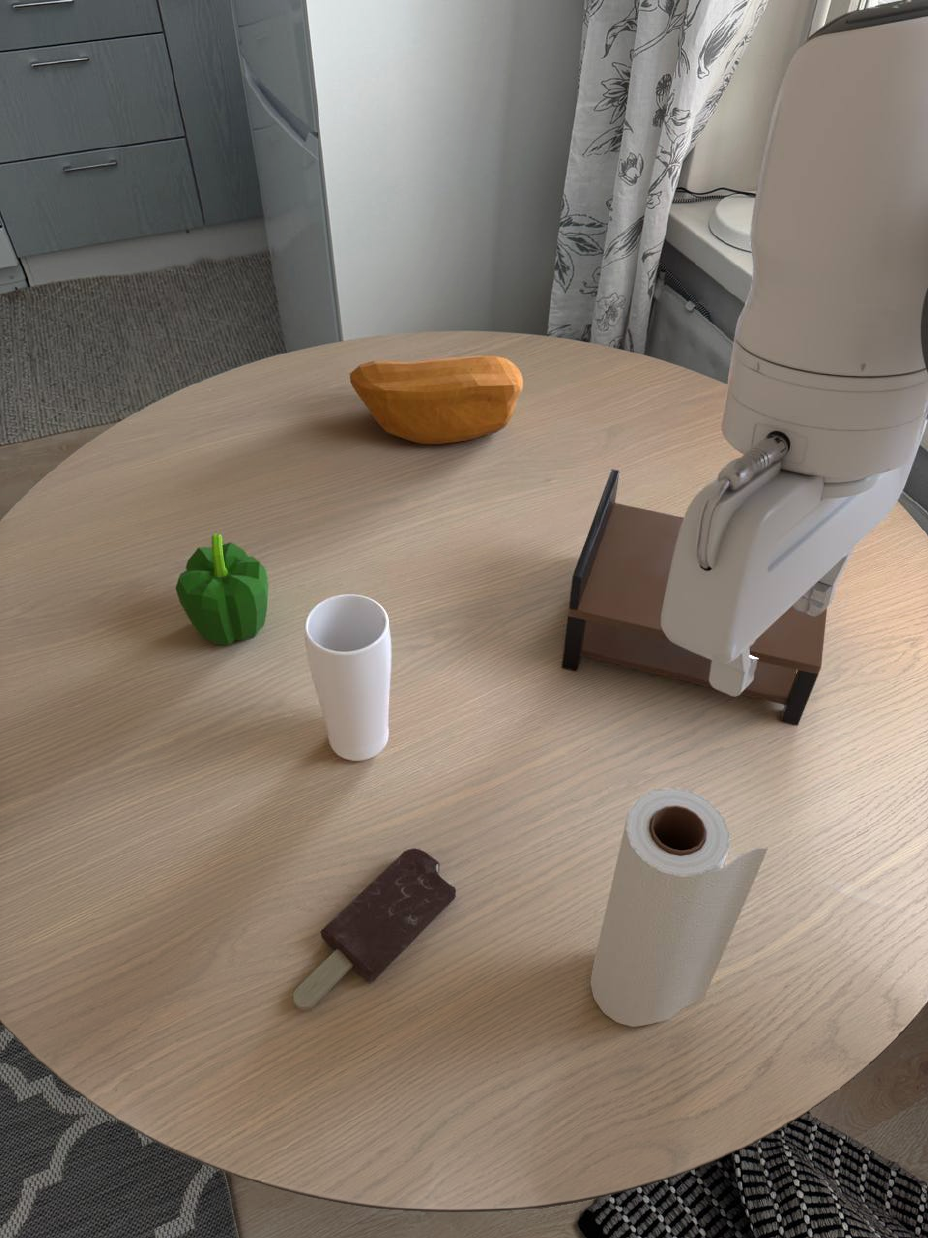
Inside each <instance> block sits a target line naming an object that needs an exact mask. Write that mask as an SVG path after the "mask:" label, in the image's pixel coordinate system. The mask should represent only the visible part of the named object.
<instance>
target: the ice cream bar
mask: <svg viewBox="0 0 928 1238" xmlns="http://www.w3.org/2000/svg"><path fill="white" fill-rule="evenodd" d="M439 873H440V862H439V861H438V860H437V859H435V858H434V857H433V856H432V855H430V854H429V853H427V852H426V851H424V850H422V849H420V848H416V847H415V848H410V849H409V848H408V849H406V850H404V851H403V852H402V853H401V854H400V855H399V856H398V857H397V858H396V859H395V860H394V861H392V863H390V864H389V865H388V866H387V867H386V868H385V869H384V870H383V871H382V872H381V873H380V874H378V876H377V877H376V878H375V879H373V881H372V882H370V884H368V885H367V886H366V887H365V888H364V889H363V890H362V891H361V892H360V893H359V894H358V895H357V896H356V897H355V898H354V899H353V900H351V901H350V902H349V903H348V904H347V905H346V906H345V907H344V908H343V909H342V910H341V911H340V912H339V913H338V914H337V915H335V916H334V918H332V919H331V920H330V921H329V922H328V923H327V924H326V925H325V926H324V927H323V928H322V929H321V930H320V936H321V939H322V940H323V941H324V942H325V943H326V945H328V946H329V947H330V948H331V949H332V950H333V952H332V953H331V954H330V955H329V956H328V957H327V958H326V959H325V960H324V961H323V962H322V963H321V964H320V965H319V966H318V967H317V968H316V969H315V970H314V971H313V972H311V974H309V976H308V977H307V978H305V980H304V981H303V982H301V983H300V984H299V985H298V987H296V988H295V990H294V992H293V994H292V995H293V996H292V999H293V1002H294V1005H295V1007H296V1008H298V1009H299V1010H301V1011H307V1010H310V1009H312V1008H313V1007H315V1005H316V1004H317V1003H318V1002H319V1001H321V1000H322V999H323V997H324V996H325V995H327V993H328V992H330V991H331V989H332V988H333V987H335V986H336V985H337V983H339V982H340V981H341V980H342V979H343V978H344V976H346V975H347V973H349V972H350V970H351V969H353V970H354V971H355V972H356V973H357V974H358V975H359V976H360V977H362V978H363V979H365V980H366V981H367V982H369V983H370V984H372V983H374V981H376V980H377V979H378V977H379V976H380V975H381V974H382V973H383V972H384V971H385V970H386V969H387V968H388V967H389V966H391V964H392V963H393V962H394V961H395V960H396V959H397V958H398V957H399V956H400V955H401V954H402V953H403V952H404V951H405V950H406V949H407V948H408V946H410V945H411V944H412V942H413V941H415V940H416V939H417V938H418V937H419V935H421V933H422V932H423V931H424V930H425V929H426V928H427V927H428V926H429V925H430V924H431V923H432V922H433V921H434V920H435V919H436V918H437V917H438V916H439V915H440V914H441V913H442V912H443V911H444V910H445V909H446V908H447V907H448V906H449V905H450V904H451V903H452V902H453V901H454V899H456V898H457V889H456V886H453V885H451V884H450V883H448V882H447V881H446V880H445V879H444V878H442V876H440V875H439Z"/></svg>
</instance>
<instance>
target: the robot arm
mask: <svg viewBox="0 0 928 1238" xmlns="http://www.w3.org/2000/svg"><path fill="white" fill-rule="evenodd" d="M786 68H787V69H786V70H785V74H784V76H783V79H782V82H781V84H780V88H779V91H778V94H777V97H776V100H775V104H774V108H773V111H772V112H773V113H772V115H771V118H770V119H771V120H770V122H769V123H770V124H769V128H768V133H767V137H766V141H765V145H764V150H763V156H762V160H761V165H760V169H759V175H758V181H757V186H756V192H755V198H754V204H753V210H752V215H751V216H752V217H751V222H750V223H751V224H750V230H749V245H750V246H749V247H750V253H751V262H752V279H751V285H750V289H749V292H748V295H747V298H746V301H745V303H744V306H743V308H742V310H741V312H740V314H739V317H738V319H737V322H736V325H735V331H734V336H733V344H732V350H731V356H730V363H729V370H728V375H727V376H728V377H727V385H726V390H725V391H726V392H725V398H724V404H723V411H722V417H721V424H720V428H721V433H722V436H723V438H724V439H725V440H726V442H727V443H728V444H729V445H730V446H731V447H732V448H733V449H735V450H736V451H738V453H740V454H742V456H740V457H737V458H734V459H732V460H731V461H729V462H728V463H727V464H726V465H724V466H723V468H722V469H721V470H720V471H719V472H718V476H717V477H716V478H715V479H713V480H712V481H711V482H709V483H708V484H706V485H705V486H704V487H702V488H701V489H700V490H699V491H698V493H697V494H695V496H694V497H693V498H692V500H691V502H690V503H689V505H688V507H687V509H686V511H685V513H684V516H683V517H684V518H683V521H682V524H681V527H680V530H679V534H678V538H677V541H676V545H675V550H674V554H673V558H672V563H671V568H670V572H669V577H668V582H667V587H666V592H665V597H664V603H663V609H662V614H661V627H662V630H663V631H664V633H665V635H666V637H667V638H668V639H669V640H670V641H671V642H673V643H674V644H676V645H678V646H680V647H682V648H685V649H687V650H689V651H691V652H693V653H696V654H698V655H701V656H703V657H705V658H708V659H710V660H712V662H711V668H710V675H709V682H710V684H711V685H712V687H711V688H713V689H714V690H717V691H719V692H721V693H724V694H725V695H728V696H730V697H734V698H735V697H739V696H740V695H742V694H741V693H742V691H743V690H745V689H746V688H747V687H748V686H749V684H750V683H751V682H752V681H753V679H754V672H755V669H756V665H757V660H758V659H757V658H755V657H753V656H750V650H749V648H750V646H751V645H752V644H754V642H755V640H756V639H757V638H758V637H759V636H760V635H761V634H762V633H764V632H765V631H766V630H767V629H768V628H769V627H770V626H771V625H772V624H773V623H774V622H775V621H776V620H777V619H778V618H779V617H781V616H782V615H783V614H784V613H785V612H786V611H787V610H788V609H789V608H790V607H791V606H792V605H793V607H794V608H795V609H796V610H798V611H800V612H806V613H807V614H808V615H811V616H814V617H815V616H819V615H820V614H821V613H822V612H823V611H824V610H825V609H826V608H827V609H828V607H829V606H831V604H832V603H833V599H834V595H835V593H836V592H835V591H836V586H837V584H838V582H839V580H840V578H841V576H842V574H843V572H844V570H845V568H846V566H847V564H848V562H849V560H850V558H851V556H852V554H853V552H854V550H855V547H857V545H859V543H861V542H862V540H863V539H865V537H867V536H868V535H869V534H870V533H871V532H872V531H873V530H874V529H875V528H876V527H877V526H879V524H880V523H882V522H883V521H884V520H885V519H886V518H887V517H888V516H889V515H890V514H891V512H892V511H893V509H894V508H895V506H896V504H897V503H898V501H899V499H900V497H901V495H902V493H903V491H904V489H905V486H906V484H907V481H908V478H909V476H910V472H911V470H912V467H913V465H914V462H915V459H916V456H917V454H918V450H919V448H920V445H921V442H922V439H923V436H924V433H925V430H926V428H927V424H928V0H897V1H892V2H885V3H880V4H877V5H874V6H871V7H866V8H862V9H856V10H852V11H849V12H845V13H843V14H842V15H840V16H837V17H835V18H834V19H832V20H830V21H829V22H827V23H826V24H824V25H822V27H820V28H818V29H817V30H815V31H814V32H813V33H812V34H811V35H810V36H808V37H807V40H805V41H804V43H803V44H802V45H801V46H800V47H799V48H797V50H796V51H795V53H794V54H793V56H792V58H791V60H790V61H789V64H788V66H787V67H786Z"/></svg>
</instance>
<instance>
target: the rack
mask: <svg viewBox="0 0 928 1238" xmlns="http://www.w3.org/2000/svg"><path fill="white" fill-rule="evenodd" d="M619 479H620V470H618V469H613V468H612V469H611V470H610V472H609V475H608V478H607V481H606V484H605V487H604V489H603V492H602V495H601V498H600V499H599V503H598V506H597V509H596V511H595V514H594V516H593V520H592V522H591V525H590V528H589V530H588V533H587V535H586V538H585V541H584V544H583V547H582V550H581V552H580V555H579V557H578V560H577V563H576V566H575V568H574V571H573V574H572V577H571V587H570V595H569V604H568V613H567V620H566V627H565V635H564V636H565V638H564V645H563V654H562V661H561V668H562V669H564V670H570V671H573V672H578V670H579V666H580V664H581V660H582V657H585V658H589V659H593V660H598V661H601V662H606V663H610V664H614V665H619V666H621V667H627V668H631V669H635V670H639V671H643V672H647V673H651V674H656V675H659V676H664V677H667V678H672V679H677V680H681V681H684V682H689V683H693V684H695V685H696V684H697V685H699V686H704V687H705V686H706V687H710V688H713V687H712V685H711V684H710V682H709V675H710V668H711V662H712V660H710V659H708V658H705V657H703V656H701V655H698V654H696V653H693V652H691V651H689V650H687V649H685V648H682V647H680V646H678V645H676V644H674V643H673V642H671V641H670V640H669V639H668V638H667V637H666V635H665V633H664V631H663V630H662V627H661V614H662V609H663V603H664V597H665V592H666V587H667V582H668V577H669V572H670V568H671V563H672V558H673V554H674V550H675V545H676V541H677V538H678V534H679V530H680V527H681V524H682V521H683V518H684V516H680V515H675V514H670V513H666V512H660V511H655V510H651V509H647V508H641V507H636V506H631V505H626V504H622V503H616V498H617V492H618V485H619ZM827 612H828V607H827V608H826V609H825V610H824V611H823V612H822V613H821V614H820V615H819V616H815V617H814V616H811V615H808V614H807V613H806V612H800V611H798V610H796V609H795V608H794V607H793V605H792V606H791V607H790V608H789V609H788V610H787V611H786V612H785V613H784V614H783V615H782V616H781V617H779V618H778V619H777V620H776V621H775V622H774V623H773V624H772V625H771V626H770V627H769V628H768V629H767V630H766V631H765V632H764V633H762V634H761V635H760V636H759V637H758V638H757V639H756V640H755V642H754V644H752V645H751V646H750V648H749V650H750V656H753V657H755V658H757V659H758V660H757V665H756V669H755V672H754V679H753V681H752V682H751V683H750V684H749V686H748V687H747V688H746V689H745V690H743V691H742V693H741V694H740V695H743V696H746V697H750V698H754V699H759V700H762V701H768V702H771V703H775V704H780V705H783V708H782V712H781V718H780V719H781V722H782V723H786V724H789V725H794V726H799V725H800V724H799V723H800V722H801V719H802V717H803V715H804V711H805V709H806V706H807V705H808V701H809V699H810V696H811V694H812V691H813V689H814V686H815V684H816V681H817V679H818V677H819V674H820V672H821V668H822V663H823V652H824V644H825V643H824V642H825V633H826V623H827Z"/></svg>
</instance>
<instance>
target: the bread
mask: <svg viewBox="0 0 928 1238" xmlns="http://www.w3.org/2000/svg"><path fill="white" fill-rule="evenodd" d="M349 381H350V384H351V387H352V388H353V389H354V392H355V393H356V394H357V396H358V397H359V398H360V400H361V401H362V403H363V404H364V405H365V407H366V408H367V409H368V411H369V413H370V414H371V415H372V417H373V418H374V420H375V421H376V422H377V423H378V425H379V426H380V427H381V428H382V429H383V430H384V431H385V432H386V433H388V434H390V435H393V436H396V437H398V438H400V439H401V438H402V439H404V440H407V441H409V442H413V443H417V444H422V445H443V444H451V443H459V442H466V441H470V440H471V441H472V440H474V439H478V438H481V437H483V436H486V435H490V434H496V433H497V432H498V431H501V430H502V429H505V427H506V426H507V425H508V424H509V423H510V422H511V420H512V419H513V416H514V414H515V409H516V407H517V403H518V401H519V398H520V396H521V394H522V391H523V385H524V384H523V383H524V378H523V376H522V373H521V371H520V370H519V368H518V366H517V365H516V364H515V363H514V362H512V361H510V360H509V359H507V358H506V357H502V356H496V355H471V356H469V355H468V356H458V357H441V358H430V359H429V358H428V359H423V360H414V361H412V360H411V361H397V360H396V361H394V360H372V361H368V362H365V363H361V364H359V365H358V366H357V367H356V368H355V369H353V370H352V371H351V372H349Z"/></svg>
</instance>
